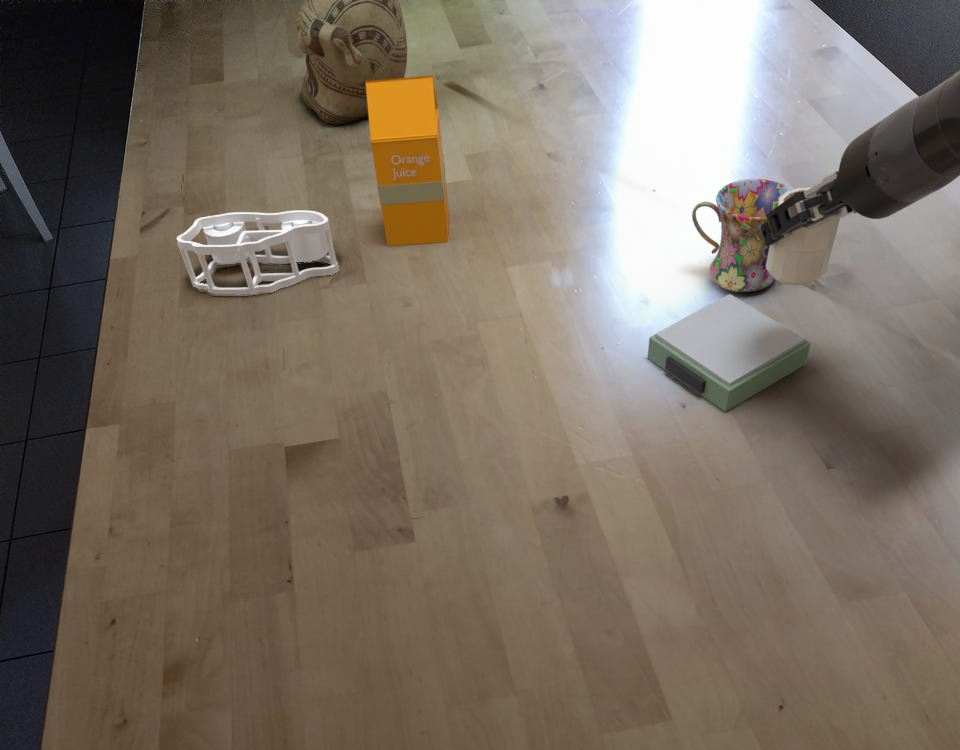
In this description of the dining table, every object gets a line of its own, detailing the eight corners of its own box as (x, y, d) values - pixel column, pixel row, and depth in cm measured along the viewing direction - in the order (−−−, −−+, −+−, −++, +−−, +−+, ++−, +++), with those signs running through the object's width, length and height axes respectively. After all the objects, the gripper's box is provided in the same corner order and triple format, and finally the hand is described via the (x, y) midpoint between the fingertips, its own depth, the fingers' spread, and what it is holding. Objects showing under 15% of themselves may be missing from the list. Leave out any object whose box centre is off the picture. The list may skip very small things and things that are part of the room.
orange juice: (448, 242, 126) (432, 88, 110) (387, 246, 127) (361, 94, 111) (449, 213, 131) (434, 62, 115) (389, 217, 131) (366, 67, 115)
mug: (784, 263, 117) (802, 183, 109) (770, 304, 113) (788, 222, 104) (693, 251, 121) (704, 171, 112) (676, 289, 116) (686, 210, 107)
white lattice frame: (345, 250, 127) (334, 199, 121) (331, 295, 121) (319, 244, 115) (210, 253, 129) (193, 203, 123) (189, 298, 123) (170, 248, 117)
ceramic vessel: (293, 138, 148) (242, -86, 124) (313, 81, 161) (270, -132, 137) (407, 132, 147) (377, -96, 123) (418, 75, 159) (393, -142, 135)
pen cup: (792, 249, 98) (807, 180, 92) (837, 272, 95) (856, 203, 89) (752, 270, 97) (765, 202, 91) (797, 295, 93) (813, 226, 87)
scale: (725, 315, 112) (729, 290, 109) (805, 364, 105) (812, 339, 102) (644, 360, 108) (646, 335, 105) (721, 414, 101) (726, 389, 98)
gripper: (961, 89, 78) (838, 170, 94) (828, 134, 75) (723, 210, 91) (984, 175, 79) (858, 241, 96) (853, 223, 76) (746, 282, 92)
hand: (793, 225), depth 93 cm, fingers closed on pen cup, 6 cm apart
